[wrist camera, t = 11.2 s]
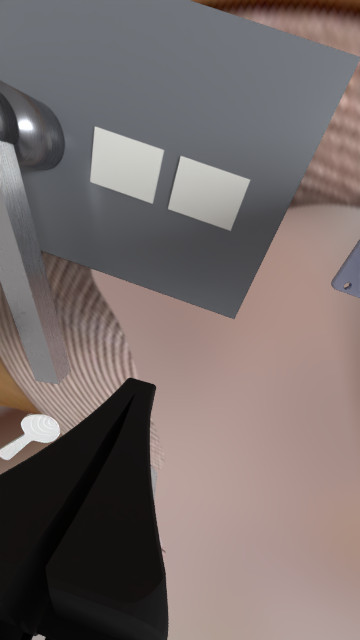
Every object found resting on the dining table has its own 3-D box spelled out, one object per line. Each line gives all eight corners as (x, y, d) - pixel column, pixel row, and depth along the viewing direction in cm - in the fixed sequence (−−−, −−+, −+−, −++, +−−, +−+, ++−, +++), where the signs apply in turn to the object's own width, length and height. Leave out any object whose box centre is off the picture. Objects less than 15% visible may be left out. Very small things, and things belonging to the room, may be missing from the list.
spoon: (-11, 445, 39) (-14, 448, 38) (39, 404, 31) (36, 407, 31) (16, 463, 40) (13, 466, 39) (70, 428, 32) (68, 432, 32)
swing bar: (76, 370, 19) (60, 388, 17) (46, 365, 20) (27, 383, 18) (8, 83, 11) (-38, 58, 9) (-41, 86, 11) (-95, 63, 10)
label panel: (346, 72, 12) (363, 54, 11) (233, 311, 19) (234, 320, 18) (13, -39, 13) (-15, -71, 11) (25, 237, 20) (8, 240, 18)
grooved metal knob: (79, 118, 15) (28, 89, 11) (76, 179, 17) (31, 172, 13) (29, 100, 15) (-40, 66, 11) (30, 163, 17) (-28, 152, 13)
